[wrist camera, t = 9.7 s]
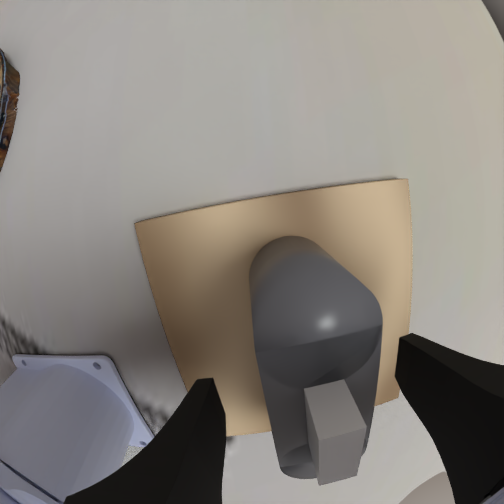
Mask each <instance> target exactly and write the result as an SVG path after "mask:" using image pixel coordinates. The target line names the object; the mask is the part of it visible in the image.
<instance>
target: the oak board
mask: <svg viewBox="0 0 504 504" xmlns="http://www.w3.org/2000/svg"><path fill="white" fill-rule="evenodd" d="M135 229H136V233H137V237H138V241H139V246H140V250H141V253H142V257H143V261H144V265H145V269H146V272H147V276H148V279H149V283H150V286H151V290H152V293H153V297H154V300H155V303H156V306H157V309H158V313H159V316H160V319H161V322H162V325H163V328H164V331H165V334H166V337H167V339H168V342H169V345H170V348H171V351H172V353H173V356H174V359H175V361H176V364H177V367H178V369H179V372H180V374H181V377H182V379H183V382H184V384H185V387H186V389H187V391H188V392H189V390H190V389H191V387H192V385H193V384H194V382H195V381H196V380H197V379H203V378H212V377H213V379H214V382H215V385H216V388H217V391H218V394H219V396H220V399H221V402H222V405H223V408H224V411H225V413H226V436H236V435H245V434H254V433H261V432H268V431H272V430H271V425H270V421H269V416H268V411H267V407H266V402H265V397H264V393H263V388H262V383H261V379H260V374H259V369H258V364H257V359H256V354H255V348H254V336H253V324H252V311H251V299H250V286H249V271H250V267H251V264H252V261H253V259H254V257H255V256H256V254H257V253H258V252H259V251H260V249H261V248H263V247H264V246H265V245H266V244H268V243H269V242H271V241H273V240H275V239H277V238H280V237H284V236H301V237H305V238H308V239H310V240H312V241H313V242H315V243H316V244H318V245H319V246H320V247H321V248H322V249H324V250H325V251H326V252H327V253H328V254H329V255H331V256H332V257H333V258H334V259H335V260H336V261H337V262H339V263H340V264H341V265H342V266H343V267H344V268H346V269H347V270H348V271H349V272H350V273H351V274H352V275H353V276H355V277H356V278H357V279H358V280H359V281H360V282H361V283H362V284H364V285H365V286H366V287H367V288H368V289H369V290H370V291H371V292H372V293H373V294H374V296H375V297H376V299H377V301H378V302H379V305H380V308H381V311H382V317H383V330H382V345H381V357H380V367H379V376H378V384H377V392H376V399H375V405H374V406H377V405H380V404H383V403H385V402H388V401H391V400H394V399H396V398H398V396H399V391H400V387H399V385H398V383H397V381H396V379H395V376H394V375H395V368H396V361H397V353H398V344H399V337H402V336H405V335H408V333H409V323H410V311H411V295H412V222H411V206H410V194H409V184H408V179H390V180H380V181H371V182H362V183H353V184H345V185H337V186H330V187H322V188H315V189H308V190H301V191H295V192H288V193H282V194H275V195H269V196H263V197H257V198H251V199H246V200H240V201H235V202H229V203H224V204H218V205H213V206H208V207H203V208H198V209H193V210H188V211H183V212H179V213H174V214H169V215H165V216H160V217H156V218H151V219H147V220H143V221H139V222H137V223H135Z"/></svg>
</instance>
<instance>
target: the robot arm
mask: <svg viewBox="0 0 504 504" xmlns="http://www.w3.org/2000/svg"><path fill="white" fill-rule="evenodd" d="M12 359H13V362H14V364H15V366H16V368H17V369H16V370H15V371H14V372H13V374H12V375H11V376H10V377H9V378H8V379H7V380H6V381H5V382H4V383H3V384H2V385H1V386H0V504H222V477H223V467H224V457H225V447H226V413H225V411H224V408H223V405H222V402H221V399H220V396H219V394H218V391H217V388H216V385H215V382H214V379H213V377H212V378H203V379H197V380H196V381H195V382H194V384H193V385H192V387H191V389H190V390H189V392H188V393H187V395H186V396H185V398H184V399H183V401H182V402H181V404H180V405H179V406H178V408H177V409H176V411H175V412H174V413H173V415H172V416H171V418H170V419H169V420H168V421H167V423H166V424H165V425H164V426H163V428H162V429H161V430H160V431H159V432H158V434H157V435H156V436H155V437H154V435H153V434H152V432H151V431H150V429H149V428H148V426H147V424H146V423H145V421H144V419H143V418H142V416H141V414H140V413H139V411H138V409H137V407H136V406H135V404H134V402H133V400H132V398H131V397H130V395H129V393H128V391H127V389H126V387H125V385H124V383H123V381H122V379H121V377H120V375H119V373H118V371H117V369H116V367H115V365H114V363H113V361H112V360H111V359H110V358H109V357H107V356H104V355H98V356H50V355H25V354H15V355H14V356H13V357H12ZM97 363H98V364H99V365H100V366H99V365H98V364H97ZM394 376H395V379H396V381H397V383H398V385H399V387H400V389H401V391H402V393H403V395H404V396H405V398H406V400H407V401H408V402H409V404H410V405H411V407H412V408H413V410H414V411H415V413H416V414H417V416H418V417H419V419H420V420H421V422H422V423H423V425H424V426H425V428H426V429H427V431H428V432H429V434H430V436H431V437H432V439H433V441H434V443H435V445H436V448H437V450H438V452H439V454H440V456H441V459H442V461H443V464H444V466H445V469H446V472H447V475H448V478H449V481H450V484H451V487H452V491H453V495H454V500H455V504H504V365H499V364H495V363H490V362H486V361H482V360H479V359H476V358H473V357H470V356H467V355H464V354H462V353H459V352H457V351H454V350H452V349H449V348H447V347H444V346H442V345H440V344H437V343H435V342H433V341H431V340H428V339H426V338H424V337H421V336H419V335H416V334H413V333H410V334H408V335H405V336H402V337H399V344H398V353H397V361H396V368H395V375H394ZM128 446H138V447H144V448H143V449H142V450H141V451H140V452H139V453H138V454H137V455H136V456H135V457H133V458H132V459H131V460H130V461H128V462H127V463H126V464H125V465H123V466H122V467H121V465H122V462H123V459H124V456H125V454H126V451H127V448H128Z"/></svg>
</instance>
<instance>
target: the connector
mask: <svg viewBox="0 0 504 504" xmlns="http://www.w3.org/2000/svg"><path fill="white" fill-rule="evenodd" d="M249 286H250V299H251V311H252V324H253V336H254V348H255V354H256V359H257V364H258V369H259V374H260V379H261V383H262V388H263V393H264V397H265V402H266V407H267V411H268V416H269V421H270V425H271V430H272V434H273V439H274V443H275V448H276V452H277V457H278V461H279V465H280V469H281V471H282V472H283V473H284V474H286V475H288V476H290V477H293V478H299V479H313V478H317V480H318V484H319V485H323V484H328V483H332V482H336V481H339V480H343V479H347V478H350V477H353V476H357V472H358V467H359V463H360V459H361V456H362V455H363V454H364V452H365V450H366V447H367V443H368V438H369V434H370V428H371V423H372V417H373V412H374V405H375V399H376V392H377V384H378V376H379V367H380V357H381V345H382V330H383V317H382V311H381V308H380V305H379V302H378V301H377V299H376V297H375V296H374V294H373V293H372V292H371V291H370V290H369V289H368V288H367V287H366V286H365V285H364V284H362V283H361V282H360V281H359V280H358V279H357V278H356V277H355V276H353V275H352V274H351V273H350V272H349V271H348V270H347V269H346V268H344V267H343V266H342V265H341V264H340V263H339V262H337V261H336V260H335V259H334V258H333V257H332V256H331V255H329V254H328V253H327V252H326V251H325V250H324V249H322V248H321V247H320V246H319V245H318V244H316V243H315V242H313V241H312V240H310V239H308V238H305V237H301V236H284V237H280V238H277V239H275V240H273V241H271V242H269V243H268V244H266V245H265V246H264V247H263V248H261V249H260V251H259V252H258V253H257V254H256V256H255V257H254V259H253V261H252V264H251V267H250V271H249Z"/></svg>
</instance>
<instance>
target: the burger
mask: <svg viewBox="0 0 504 504" xmlns="http://www.w3.org/2000/svg"><path fill="white" fill-rule="evenodd" d="M18 74H19V72H18V71H16V70H15V69H14V68H13V67H12V66H11V65H10V64H9V63H8V62H7V60H6V58H5V55H4V52H3V51H2V50H1V49H0V171H1V168H2V165H3V163H4V160H5V157H6V154H7V151H8V147H9V144H10V140H11V136H12V133H13V128H14V124H15V119H16V114H17V112H16V111H14V109H15V108H16V107H17V102H18V98H17V99H16V97H18V96H19V93H18V85H19V84H20V83H19V82H20V75H18ZM15 110H17V109H15Z"/></svg>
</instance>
